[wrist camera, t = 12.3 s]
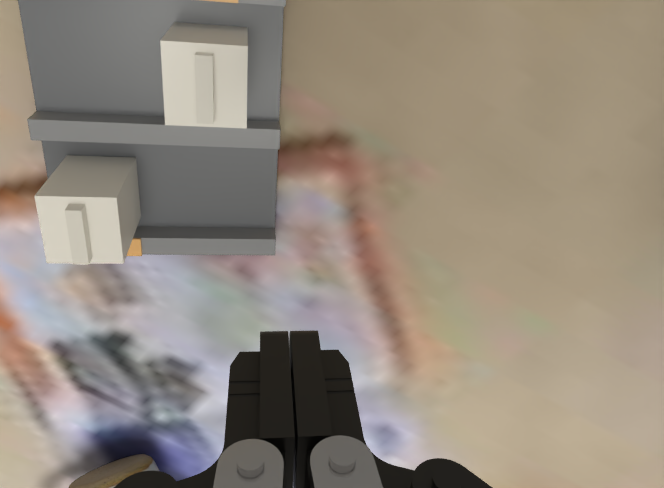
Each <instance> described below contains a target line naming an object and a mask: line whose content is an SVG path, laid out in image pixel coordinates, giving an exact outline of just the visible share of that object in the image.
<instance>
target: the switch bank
mask: <svg viewBox="0 0 664 488" xmlns="http://www.w3.org/2000/svg"><path fill="white" fill-rule="evenodd" d="M18 3H19V9H20V15H21V21H22V27H23V33H24V39H25V45H26V51H27V57H28V63H29V69H30V75H31V81H32V87H33V93H34V99H35V105H36V112H35V113H34V114H33V115H32V116H30V117H29V118H28V119H27V120H28V126H29V132H30V137H31V140H42V146H43V152H44V158H45V164H46V170H47V176H48V178H49V177H50V176H51V175H52V173H53V172H54V171H55V170H56V168H57V167H58V166H59V165H60V163H61V162H62V161H63V160H64V158H65V157H66V156H67V155H74V156H104V157H135V158H136V163H137V175H138V187H139V198H140V210H141V218H140V220H139V223H138V226H137V228H136V231H135V234H134V237H133V239H132V242H131V245H130V248H129V250H128V253H127V256H142V254H156V255H275V246H276V237H275V208H276V183H277V159H278V149H280V125H279V109H280V85H281V60H282V36H283V11H284V6H286V0H18ZM174 22H179V23H193V24H207V25H222V26H236V27H247V31H248V68H247V129H246V128H222V127H198V126H174V125H165V115H164V98H163V81H162V64H161V46H160V40H161V39H162V38H163V36H164V35H165V34H166V32H167V31H168V30H169V29H170V27H171V26H172V25H173V23H174Z"/></svg>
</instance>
